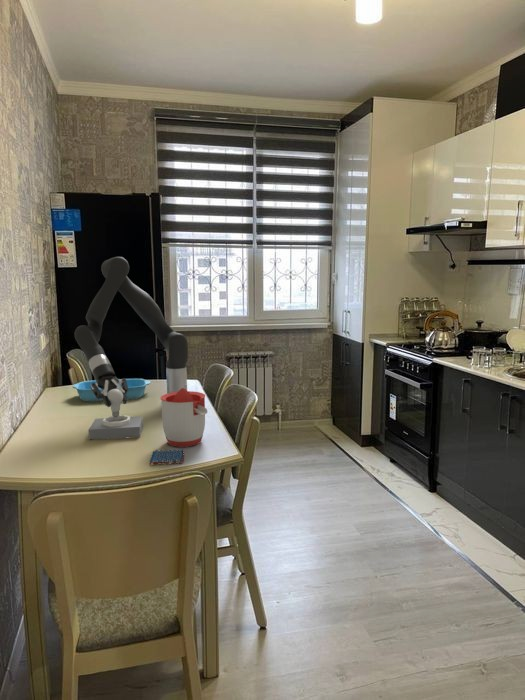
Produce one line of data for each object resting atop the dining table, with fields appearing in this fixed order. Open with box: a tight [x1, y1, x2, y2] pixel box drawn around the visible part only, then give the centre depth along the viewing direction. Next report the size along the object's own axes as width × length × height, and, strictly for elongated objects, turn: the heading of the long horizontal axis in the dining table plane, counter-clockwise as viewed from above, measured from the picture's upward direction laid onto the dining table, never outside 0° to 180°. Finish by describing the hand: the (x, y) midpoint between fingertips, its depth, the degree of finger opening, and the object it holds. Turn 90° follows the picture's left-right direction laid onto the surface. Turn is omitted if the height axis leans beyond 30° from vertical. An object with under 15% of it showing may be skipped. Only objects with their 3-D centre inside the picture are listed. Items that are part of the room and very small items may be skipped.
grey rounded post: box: [107, 389, 123, 417], centre depth 185 cm, size 6×6×11 cm
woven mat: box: [149, 449, 185, 466], centre depth 160 cm, size 10×11×2 cm
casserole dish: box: [72, 378, 151, 402], centre depth 244 cm, size 37×22×7 cm, turn 105°
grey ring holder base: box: [88, 414, 144, 440], centre depth 187 cm, size 18×14×6 cm
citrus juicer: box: [160, 388, 208, 448], centre depth 174 cm, size 16×17×20 cm
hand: (117, 404), depth 184 cm, fingers closed on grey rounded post, 6 cm apart
